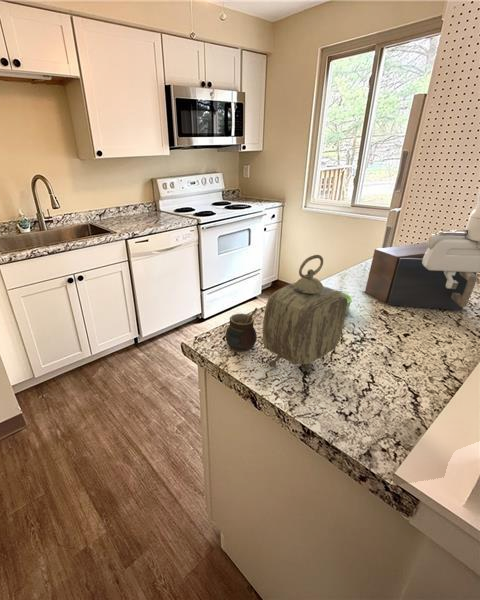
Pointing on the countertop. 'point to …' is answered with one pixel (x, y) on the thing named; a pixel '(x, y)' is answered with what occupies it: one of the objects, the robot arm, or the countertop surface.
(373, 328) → the countertop surface
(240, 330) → the mate gourd
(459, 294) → the cupboard door
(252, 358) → the countertop surface
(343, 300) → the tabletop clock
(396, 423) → the countertop surface
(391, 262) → the cupboard
